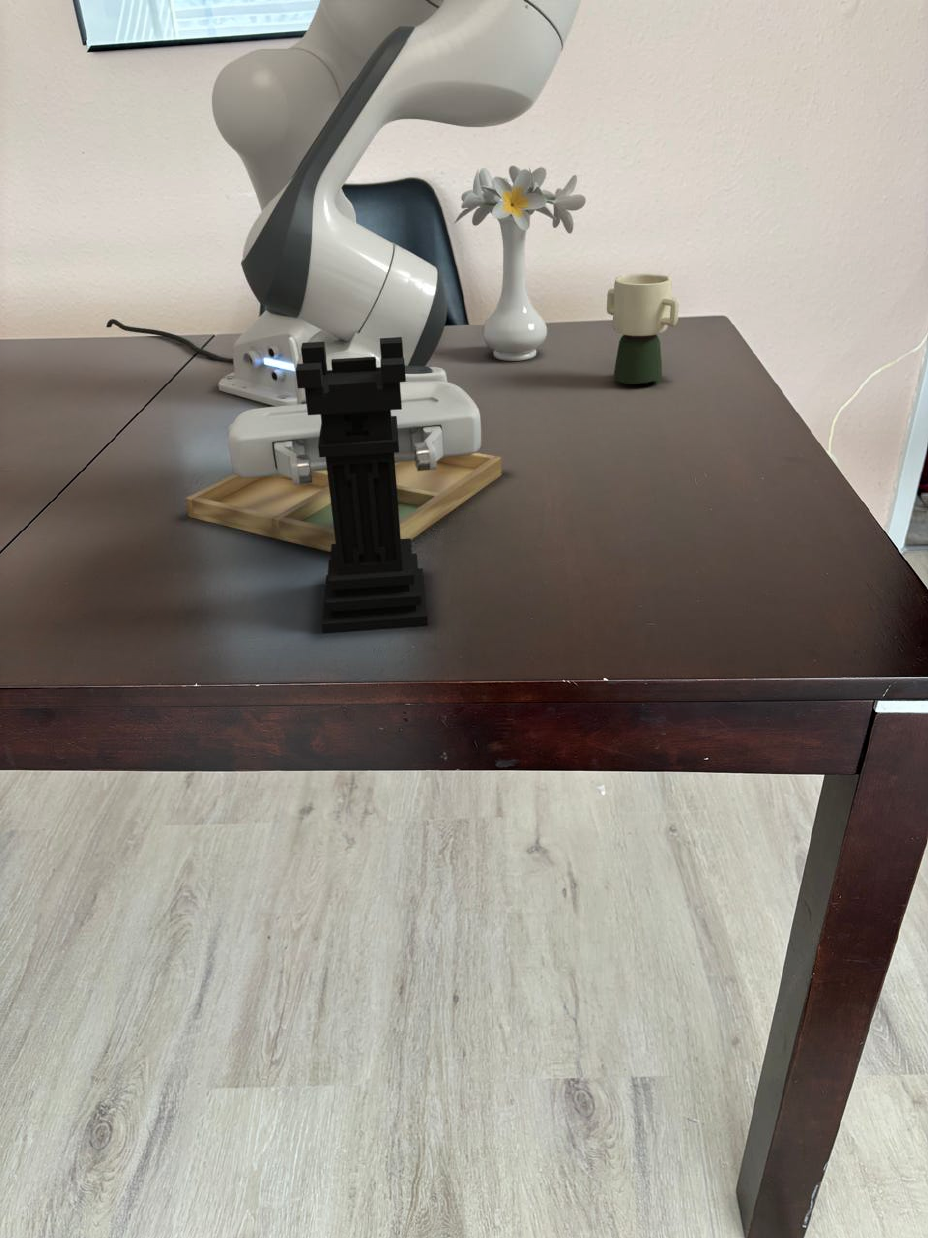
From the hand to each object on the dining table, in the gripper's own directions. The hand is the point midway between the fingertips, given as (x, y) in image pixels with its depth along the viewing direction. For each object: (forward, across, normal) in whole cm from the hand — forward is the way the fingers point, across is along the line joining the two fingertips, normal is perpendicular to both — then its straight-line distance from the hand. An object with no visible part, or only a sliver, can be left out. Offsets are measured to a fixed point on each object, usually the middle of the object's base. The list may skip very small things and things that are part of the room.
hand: (364, 467), depth 71 cm
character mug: (-49, +40, +11) cm, 64 cm away
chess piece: (+1, 0, +11) cm, 11 cm away
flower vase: (-68, +28, +11) cm, 74 cm away
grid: (-22, 0, +11) cm, 24 cm away
